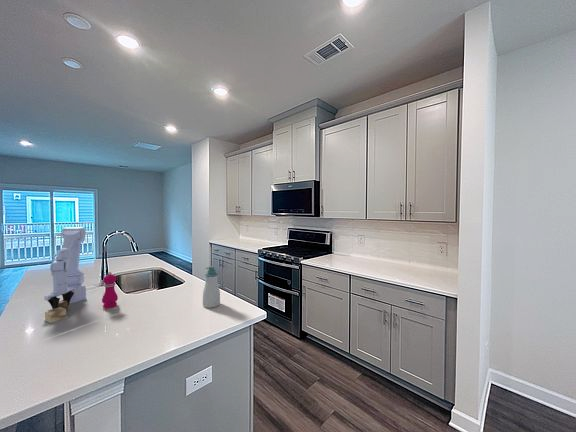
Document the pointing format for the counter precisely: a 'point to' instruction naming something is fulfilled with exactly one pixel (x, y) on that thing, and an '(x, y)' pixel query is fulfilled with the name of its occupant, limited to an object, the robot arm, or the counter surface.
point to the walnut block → (63, 304)
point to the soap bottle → (211, 289)
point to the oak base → (55, 314)
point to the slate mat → (53, 321)
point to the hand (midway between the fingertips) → (61, 308)
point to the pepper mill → (109, 291)
